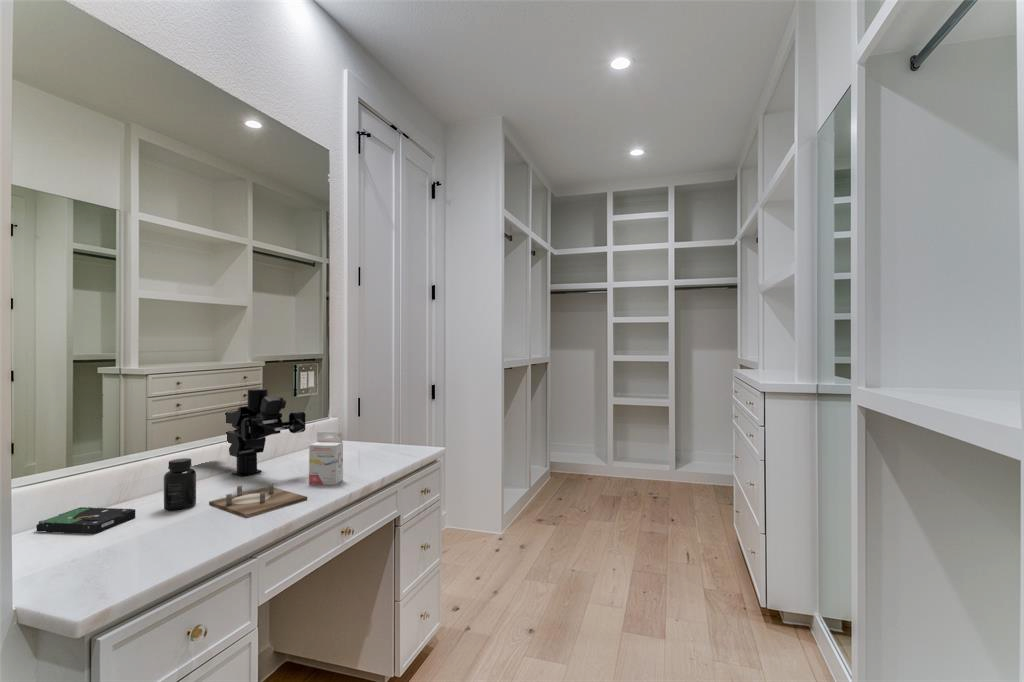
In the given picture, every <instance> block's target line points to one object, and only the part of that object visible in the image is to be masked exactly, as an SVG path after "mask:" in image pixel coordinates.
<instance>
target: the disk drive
mask: <svg viewBox="0 0 1024 682" xmlns="http://www.w3.org/2000/svg"><path fill="white" fill-rule="evenodd" d="M134 519H136V509H133V508H116V507H115V508H112V507H111V508H109V507H108V508H107V507H90V506H89V507H86V506H85V507H84V506H83V507H77V508H75V509H71V510H68V511H66V512H63V513H60V514H58V515H55V516H52V517H50V518H47V519H44V520H39V521H38V524H36V527H35V529H36V532H37V531H46V532H45V533H52V532H62V533H61V534H83V535H97V534H100V533H102V532H104V531H107V530H109V529H112V528H114V527H117V526H120V525H122V524H124V523H127V522H129V521H131V520H134ZM63 532H64V533H63Z"/></svg>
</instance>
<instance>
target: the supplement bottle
mask: <svg viewBox="0 0 1024 682" xmlns="http://www.w3.org/2000/svg"><path fill="white" fill-rule="evenodd" d="M191 467H192V458H188V457H187V458H185V457H184V458H175V459H172V460H169V461H168V467H167V469H168V471H167V472H166V473H165V474H164V476H163V509H164V510H165V511H166V512H180V511H185V510H188V509H191V508H193V507H195V506H196V504H197V472H196V470H195V469H193V468H191Z"/></svg>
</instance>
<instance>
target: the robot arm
mask: <svg viewBox="0 0 1024 682" xmlns="http://www.w3.org/2000/svg"><path fill="white" fill-rule="evenodd" d="M246 398H247V401H246V403H247V405H246V406H240V407H238V409H237V410H234V411H230V412H226V413H225V415H226V423H228V424H229V425H230V424H231V427H232V428H233V429H235V430H233V431H228V432H226V434H227V441H228V443H227V444H230V446H229V447H228V453H229V456H231V457H233V458H234V457H235V458H236V470H234V471H232V472H231V474H232V475H235V476H239V477H245V476H249V475H254V474H259V473H262V472H263V471H262V469H258V454H261V453H264V450H265V445H266V440H267V439H266V437H269V436H272V435H276V434H277V435H278V434H281V431H283V430H289V432H290V433H291V434H298V433H304V432H305V430H306V413H305V412H304V411H295V412H294V411H293V412H290V413H289V415H288V420H287V421H283V420H282V418H283V413H281V411H282V410H285V408H286V405H287V400H286V399H284V397H281V396H277V395H273V396H272V395H270V396H269V389H268V388H251V389H250V388H249V389H247V397H246Z"/></svg>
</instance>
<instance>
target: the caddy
mask: <svg viewBox="0 0 1024 682" xmlns="http://www.w3.org/2000/svg"><path fill="white" fill-rule="evenodd" d="M274 485H275V484H274V483H269V484H268V486H265V487H261V488H257V489H253V490H249V491H246V492H243V485H237V486H236V494H234V495H233V494H232V493H229V494H226V495H225V497H222V498H218V499H215V500H210V501H208V505H209V506H212V507H214V508H218V509H220V510H223V511H226V512H228V513H231V514H234V515H237V516H240V517H243V518H246V519H247V518H251V517H255V516H257V515H260V514H261V515H262V514H264V513H267V512H271V511H274V510H278V509H280V508H281V509H282V508H284V507H287V506H291V505H294V504H298V503H300V502H304V501H308V496H306V495H303V494H298V493H295V492H291V491H288V490H284V489H281V488H277V487H275V486H274Z"/></svg>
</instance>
